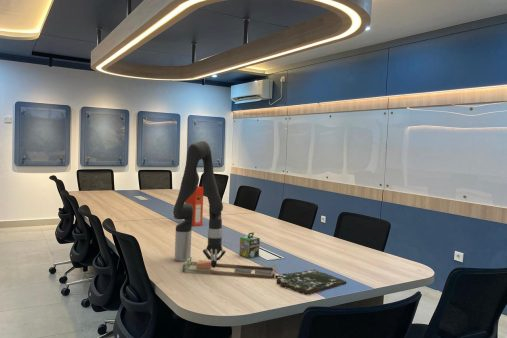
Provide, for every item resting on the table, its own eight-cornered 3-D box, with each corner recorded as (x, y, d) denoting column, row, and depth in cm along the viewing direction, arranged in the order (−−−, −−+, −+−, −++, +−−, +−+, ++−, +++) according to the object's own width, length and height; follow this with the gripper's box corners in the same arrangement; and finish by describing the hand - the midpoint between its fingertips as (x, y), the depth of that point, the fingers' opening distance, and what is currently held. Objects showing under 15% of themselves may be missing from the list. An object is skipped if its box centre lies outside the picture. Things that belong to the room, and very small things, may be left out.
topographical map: (346, 284, 207) (346, 278, 207) (302, 297, 186) (302, 291, 186) (309, 270, 227) (309, 265, 226) (266, 281, 206) (266, 275, 206)
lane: (189, 264, 226) (189, 257, 226) (274, 270, 223) (275, 263, 223) (182, 272, 212) (182, 264, 212) (274, 278, 208) (274, 271, 208)
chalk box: (249, 252, 256) (250, 230, 255) (259, 256, 250) (260, 232, 249) (238, 255, 250) (239, 231, 249) (248, 258, 243) (250, 234, 242)
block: (198, 267, 223) (199, 260, 222) (211, 267, 222) (211, 260, 222) (196, 271, 216) (196, 263, 215) (208, 271, 215) (209, 264, 215)
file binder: (193, 226, 327) (195, 187, 325) (184, 222, 341) (185, 185, 339) (202, 225, 332) (203, 187, 330) (192, 221, 346) (194, 185, 344)
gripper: (227, 235, 220) (226, 265, 221) (204, 233, 221) (203, 264, 222) (225, 238, 213) (224, 270, 214) (201, 236, 214) (200, 268, 215)
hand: (213, 267), depth 218 cm, fingers closed
